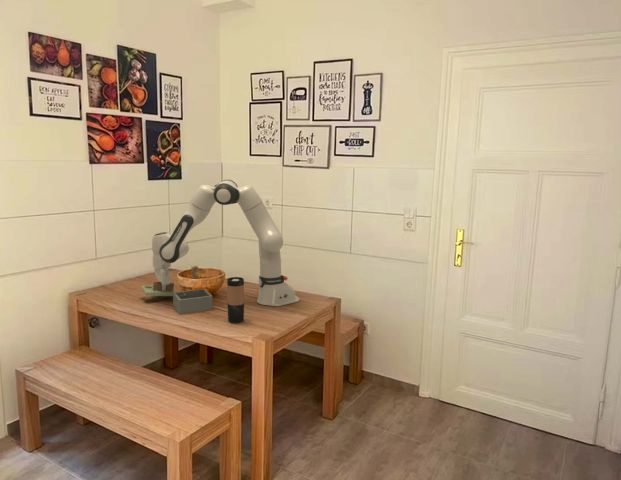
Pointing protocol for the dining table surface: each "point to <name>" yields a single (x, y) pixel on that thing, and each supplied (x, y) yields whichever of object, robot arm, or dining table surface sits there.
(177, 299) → the grey open box
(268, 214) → the robot arm
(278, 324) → the dining table surface
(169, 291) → the lid
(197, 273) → the wooden key
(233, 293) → the travel mug
